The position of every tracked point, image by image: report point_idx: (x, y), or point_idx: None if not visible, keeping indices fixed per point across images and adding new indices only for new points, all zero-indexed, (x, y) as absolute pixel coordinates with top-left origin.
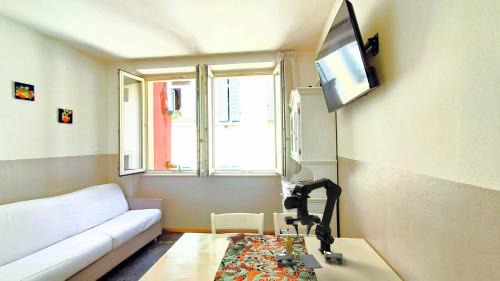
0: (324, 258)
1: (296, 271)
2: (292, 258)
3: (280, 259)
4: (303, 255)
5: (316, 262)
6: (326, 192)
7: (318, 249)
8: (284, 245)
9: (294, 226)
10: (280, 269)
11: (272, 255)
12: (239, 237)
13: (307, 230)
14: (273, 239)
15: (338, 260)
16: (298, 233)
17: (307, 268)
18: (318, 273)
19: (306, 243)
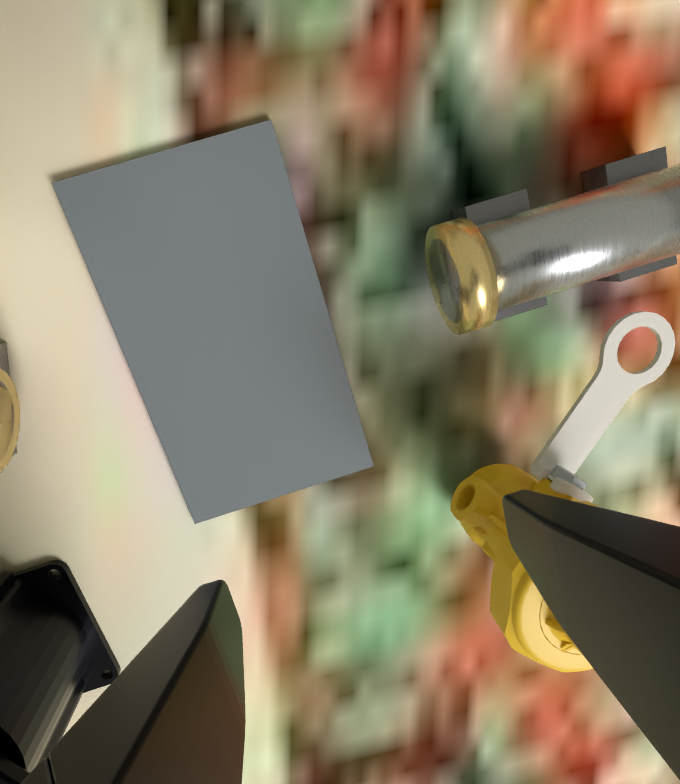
0: (6, 376)
1: (412, 25)
2: (481, 224)
3: (648, 173)
4: (309, 462)
5: (137, 305)
6: None
7: (114, 661)
8: None
9: None
10: (611, 53)
11: (676, 400)
12: None
13: (194, 754)
14: (634, 768)
15: None
16: (551, 526)
17: (263, 123)
18: (109, 7)
19: (265, 774)
